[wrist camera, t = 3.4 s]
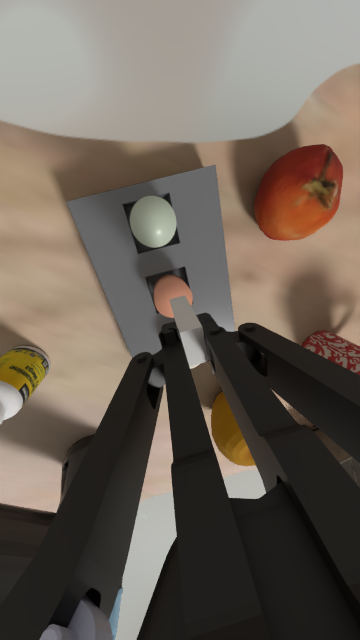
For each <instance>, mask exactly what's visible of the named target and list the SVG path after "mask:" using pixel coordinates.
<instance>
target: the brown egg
mask: <svg viewBox="0 0 360 640" xmlns="http://www.w3.org/2000/svg"><path fill="white" fill-rule="evenodd" d="M153 292H154V303H155V306H156V309H157V310H158V311H159V312H160V313H161V314H162V315H164V316H166V317H170V318H174V315H173V311H172V307H171V304H170V300H169V299H172V298H176V297H180V296H184V295H185V296H186V298H187V300H188V302H189V303H190V305H192V301H193V296H192V292H191V290H190V288H189V287H188V286H187V284H186V283H185V282H184V280H183V279H182V278H181V277H179V276H177V275H175V274H166V275H163V276H161V277H160V278H159V279H158V280H157V281H156V282H155V285H154V289H153Z"/></svg>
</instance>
